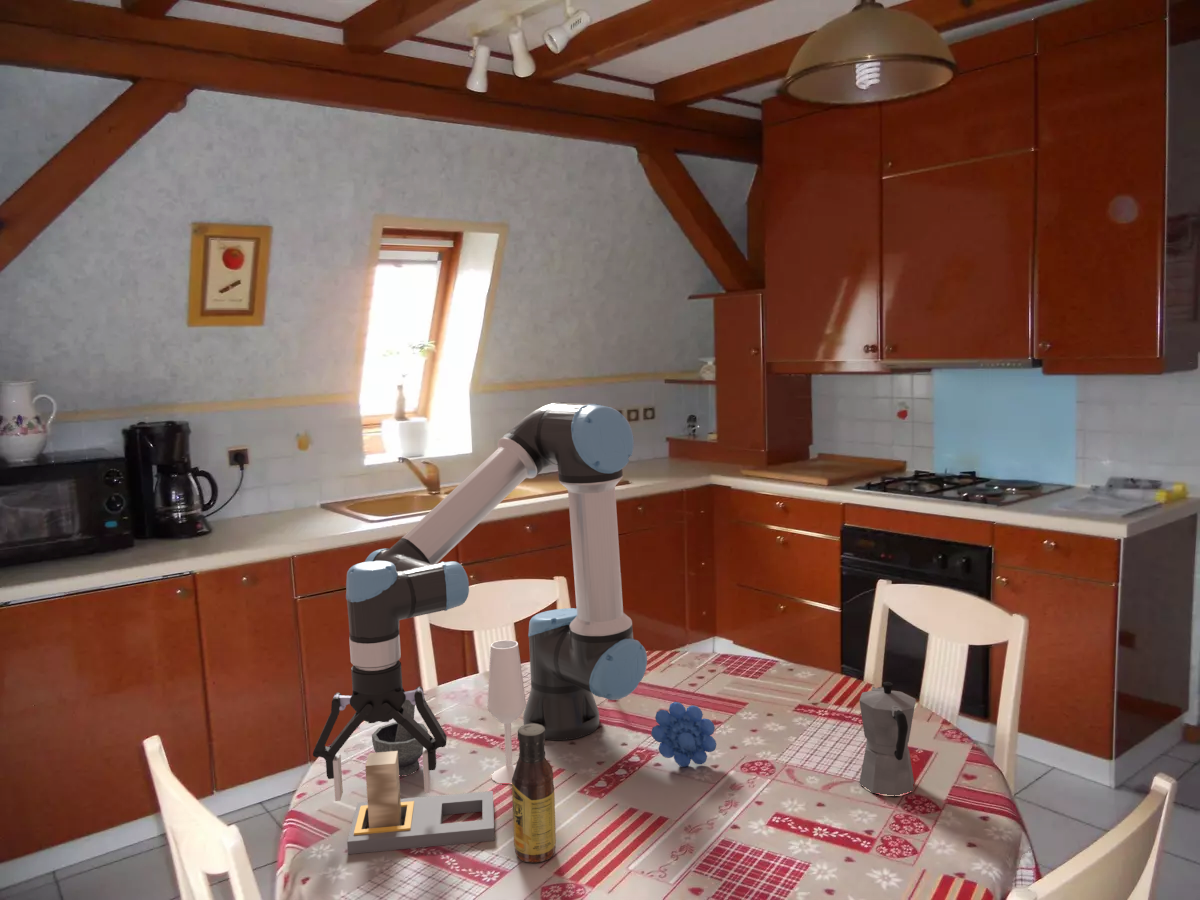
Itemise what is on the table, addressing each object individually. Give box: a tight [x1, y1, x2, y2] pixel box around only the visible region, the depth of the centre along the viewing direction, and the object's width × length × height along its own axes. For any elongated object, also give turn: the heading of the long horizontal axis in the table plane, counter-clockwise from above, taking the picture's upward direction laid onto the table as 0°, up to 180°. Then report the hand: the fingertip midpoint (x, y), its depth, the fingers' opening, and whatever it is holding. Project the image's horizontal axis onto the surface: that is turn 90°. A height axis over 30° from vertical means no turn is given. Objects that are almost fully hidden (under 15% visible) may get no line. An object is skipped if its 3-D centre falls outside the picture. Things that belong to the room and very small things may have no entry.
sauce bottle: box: [511, 724, 557, 864], centre depth 137 cm, size 6×6×20 cm
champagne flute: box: [487, 639, 527, 783], centre depth 162 cm, size 7×7×24 cm
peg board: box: [346, 790, 496, 855], centre depth 147 cm, size 22×12×2 cm, turn 97°
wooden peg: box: [365, 751, 403, 829], centre depth 145 cm, size 4×4×12 cm
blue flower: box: [650, 701, 717, 768], centre depth 163 cm, size 12×7×12 cm, turn 93°
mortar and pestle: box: [371, 700, 429, 777], centre depth 167 cm, size 11×9×12 cm
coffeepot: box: [858, 681, 917, 796], centre depth 154 cm, size 15×9×18 cm, turn 0°
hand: (383, 793), depth 145 cm, fingers open, 13 cm apart
